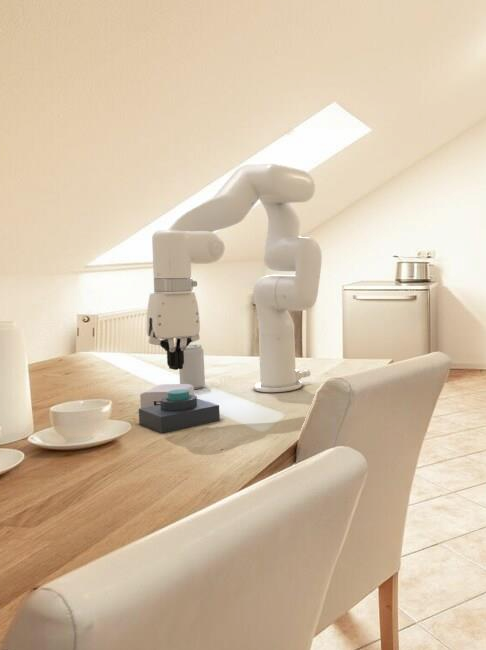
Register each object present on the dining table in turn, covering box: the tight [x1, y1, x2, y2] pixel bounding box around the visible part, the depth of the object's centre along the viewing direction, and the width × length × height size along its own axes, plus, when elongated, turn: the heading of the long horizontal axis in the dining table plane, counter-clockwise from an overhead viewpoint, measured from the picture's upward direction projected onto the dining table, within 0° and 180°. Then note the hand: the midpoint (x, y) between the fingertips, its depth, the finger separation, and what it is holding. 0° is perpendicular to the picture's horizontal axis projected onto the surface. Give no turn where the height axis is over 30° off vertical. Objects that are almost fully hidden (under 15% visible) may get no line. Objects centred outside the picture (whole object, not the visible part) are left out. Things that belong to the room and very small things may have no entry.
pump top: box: [168, 389, 190, 401], centre depth 141 cm, size 4×4×2 cm
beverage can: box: [178, 344, 206, 390], centre depth 176 cm, size 6×6×12 cm
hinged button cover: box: [139, 383, 195, 408], centre depth 158 cm, size 5×9×15 cm
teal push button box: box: [138, 394, 221, 434], centre depth 142 cm, size 13×11×6 cm
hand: (175, 368), depth 140 cm, fingers closed
